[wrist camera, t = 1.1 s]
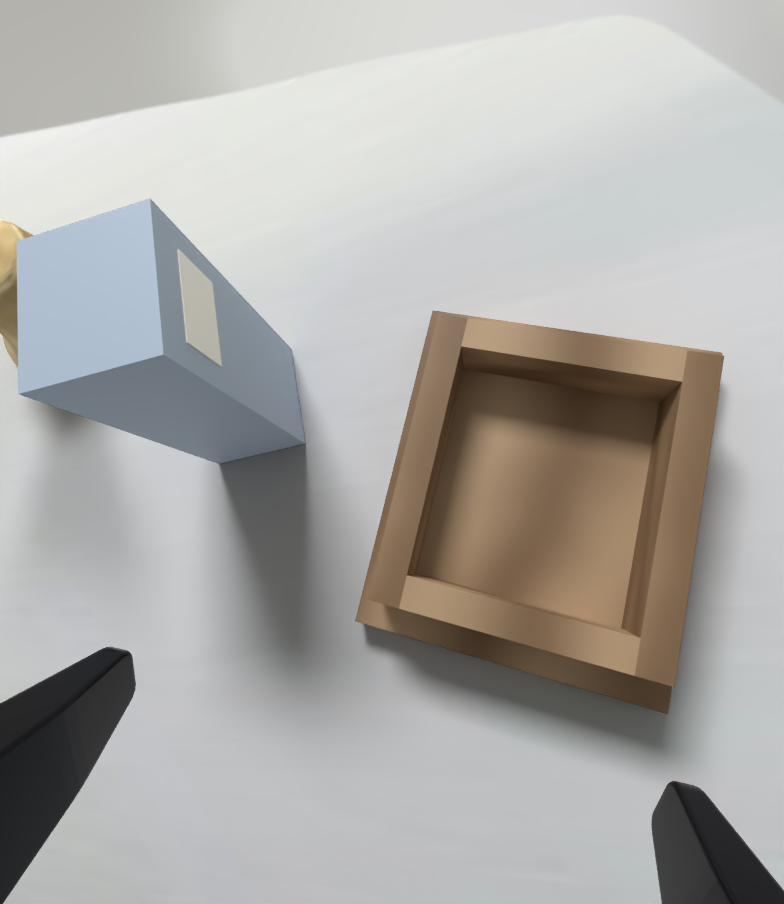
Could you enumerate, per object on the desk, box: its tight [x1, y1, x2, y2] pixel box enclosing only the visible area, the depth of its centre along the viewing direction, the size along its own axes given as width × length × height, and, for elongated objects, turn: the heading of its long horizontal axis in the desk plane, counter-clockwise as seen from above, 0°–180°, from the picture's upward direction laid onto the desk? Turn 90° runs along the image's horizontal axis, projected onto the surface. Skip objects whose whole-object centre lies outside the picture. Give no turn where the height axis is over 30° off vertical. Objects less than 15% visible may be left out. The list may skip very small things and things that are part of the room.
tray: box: [355, 311, 724, 714], centre depth 20 cm, size 12×14×4 cm
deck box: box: [17, 199, 305, 464], centre depth 20 cm, size 5×5×11 cm
